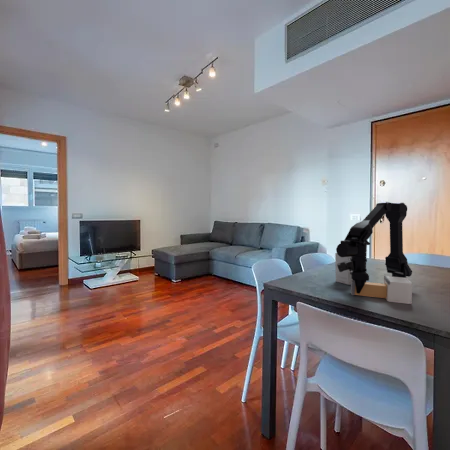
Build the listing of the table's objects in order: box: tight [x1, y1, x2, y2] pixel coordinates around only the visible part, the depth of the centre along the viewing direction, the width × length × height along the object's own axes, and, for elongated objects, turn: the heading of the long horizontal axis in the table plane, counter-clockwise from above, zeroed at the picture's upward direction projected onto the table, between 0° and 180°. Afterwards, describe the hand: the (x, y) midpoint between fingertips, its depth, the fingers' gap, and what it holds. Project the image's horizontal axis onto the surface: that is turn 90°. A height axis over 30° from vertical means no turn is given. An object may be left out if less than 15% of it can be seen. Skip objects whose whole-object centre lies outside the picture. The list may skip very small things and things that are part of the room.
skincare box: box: [334, 252, 353, 286], centre depth 135 cm, size 8×6×15 cm
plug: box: [350, 280, 387, 299], centre depth 114 cm, size 4×16×5 cm, turn 68°
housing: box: [383, 275, 413, 305], centre depth 110 cm, size 10×8×8 cm
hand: (357, 291), depth 116 cm, fingers closed on plug, 4 cm apart
